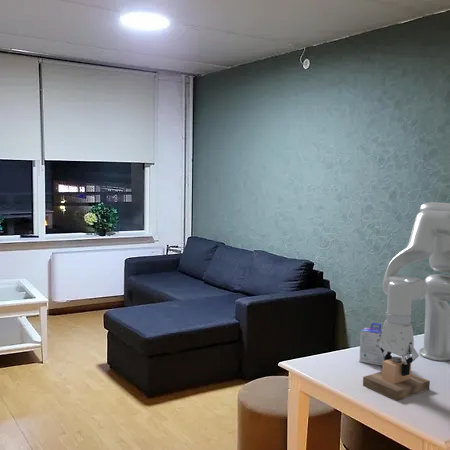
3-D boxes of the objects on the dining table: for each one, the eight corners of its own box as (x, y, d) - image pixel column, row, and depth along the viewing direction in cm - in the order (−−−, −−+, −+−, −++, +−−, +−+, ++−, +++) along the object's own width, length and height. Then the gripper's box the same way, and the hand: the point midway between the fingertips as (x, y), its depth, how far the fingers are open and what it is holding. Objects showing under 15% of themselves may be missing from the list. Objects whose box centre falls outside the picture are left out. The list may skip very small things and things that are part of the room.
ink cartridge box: (389, 362, 204) (390, 324, 202) (386, 366, 199) (387, 328, 197) (362, 357, 208) (364, 320, 207) (359, 362, 204) (360, 324, 202)
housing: (382, 378, 180) (382, 358, 179) (398, 373, 184) (399, 353, 184) (394, 383, 176) (394, 362, 175) (410, 378, 180) (411, 358, 179)
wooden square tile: (395, 375, 191) (395, 367, 190) (429, 389, 179) (429, 380, 179) (362, 385, 182) (363, 376, 182) (396, 400, 170) (397, 391, 170)
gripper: (370, 314, 183) (368, 365, 185) (413, 327, 169) (410, 382, 171) (385, 310, 187) (383, 361, 189) (428, 323, 173) (426, 377, 175)
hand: (396, 371), depth 180 cm, fingers open, 6 cm apart
